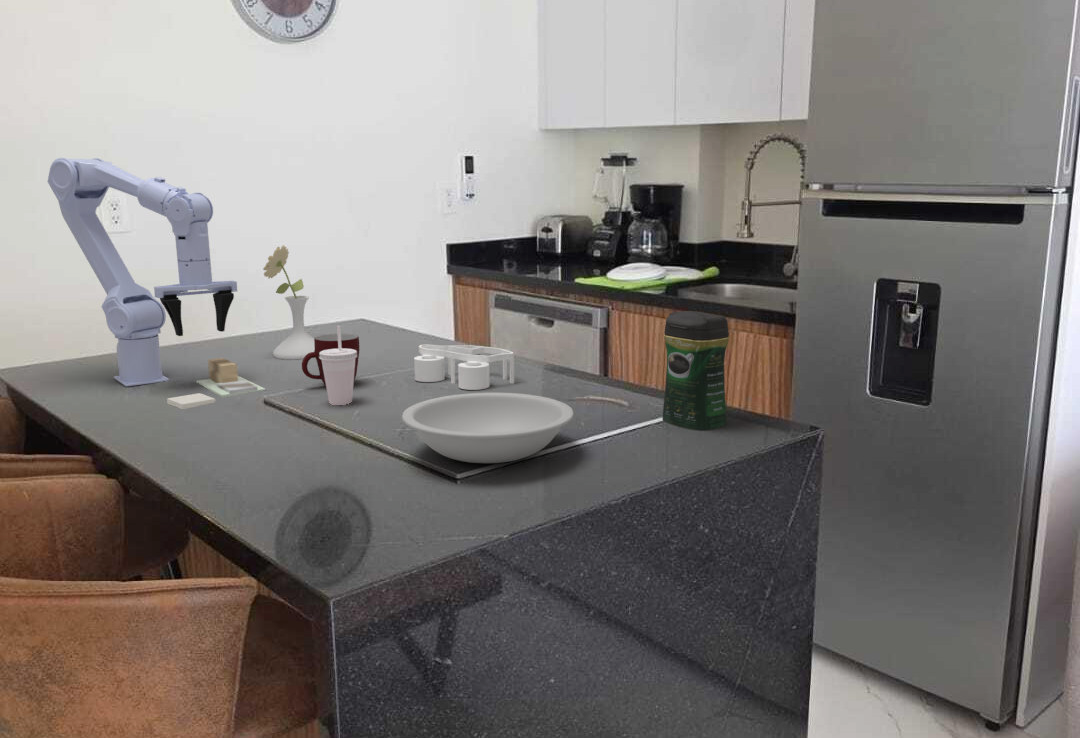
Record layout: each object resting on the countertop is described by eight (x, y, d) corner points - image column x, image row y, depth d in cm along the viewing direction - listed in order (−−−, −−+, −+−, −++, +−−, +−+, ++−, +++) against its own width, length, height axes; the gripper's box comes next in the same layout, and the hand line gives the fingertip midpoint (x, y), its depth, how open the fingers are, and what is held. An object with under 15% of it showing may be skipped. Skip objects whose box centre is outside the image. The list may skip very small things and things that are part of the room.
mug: (311, 398, 168) (308, 343, 166) (298, 390, 174) (295, 337, 172) (367, 391, 173) (365, 338, 171) (352, 383, 180) (349, 332, 178)
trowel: (203, 379, 180) (202, 360, 179) (229, 376, 183) (228, 357, 182) (230, 393, 168) (228, 373, 168) (257, 389, 171) (256, 369, 170)
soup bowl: (512, 496, 117) (511, 444, 115) (367, 465, 129) (365, 419, 128) (603, 448, 137) (604, 404, 135) (470, 426, 149) (469, 385, 148)
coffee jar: (734, 432, 145) (739, 313, 141) (699, 441, 140) (703, 318, 136) (688, 419, 152) (691, 306, 148) (653, 427, 147) (655, 310, 144)
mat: (196, 384, 179) (195, 380, 179) (237, 379, 184) (237, 375, 184) (222, 399, 167) (222, 395, 167) (265, 393, 172) (265, 388, 172)
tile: (167, 398, 164) (182, 404, 160) (199, 393, 168) (215, 398, 164) (167, 405, 165) (182, 412, 160) (200, 400, 169) (215, 406, 164)
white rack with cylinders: (402, 387, 177) (401, 348, 176) (442, 377, 186) (441, 340, 184) (483, 401, 166) (482, 360, 164) (521, 390, 174) (521, 351, 173)
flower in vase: (303, 353, 210) (297, 241, 205) (338, 359, 203) (332, 243, 198) (255, 363, 200) (247, 245, 195) (290, 369, 193) (283, 247, 188)
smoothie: (367, 404, 163) (363, 325, 161) (344, 412, 158) (340, 330, 155) (337, 400, 166) (333, 322, 163) (314, 408, 160) (309, 328, 157)
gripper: (159, 264, 165) (166, 340, 168) (240, 258, 173) (246, 331, 176) (148, 261, 170) (155, 335, 173) (227, 256, 179) (233, 327, 182)
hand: (200, 333), depth 175 cm, fingers open, 7 cm apart
